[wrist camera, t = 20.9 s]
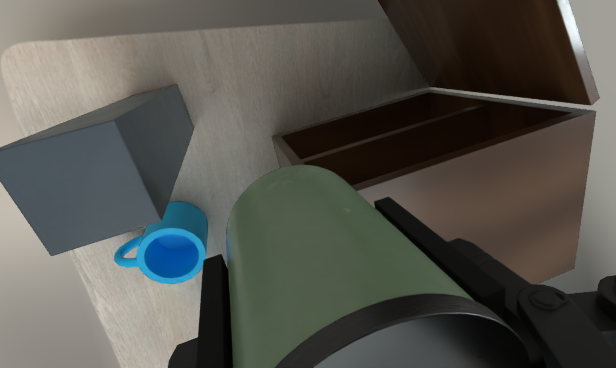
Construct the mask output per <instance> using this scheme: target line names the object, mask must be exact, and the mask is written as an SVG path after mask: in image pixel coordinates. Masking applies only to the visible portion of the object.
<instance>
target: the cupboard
mask: <svg viewBox="0 0 616 368" xmlns="http://www.w3.org/2000/svg"><path fill="white" fill-rule="evenodd" d="M595 117H596V111H593V110H586V109H577V108H569V107H561V106H554V105H546V104H537V103H531V102H523V101H515V100H507V99H499V98H492V97H484V96H476V95H468V94H461V93H453V92H445V91H437V90H429V91H425V92H422V93H419V94H415V95H412V96H408V97H405V98H402V99H398V100H395V101H391V102H388V103H385V104H381V105H378V106H374V107H371V108H368V109H364V110H361V111H357V112H354V113H350V114H347V115H344V116H340V117H337V118H333V119H330V120H327V121H323V122H320V123H316V124H313V125H310V126H306V127H303V128H299V129H296V130H293V131H289V132H286V133H282V134H279V135H276V136H272V141H273V144H274V148H275V151H276V155H277V158H278V162H279V165H280V168H284V167H288V166H295V165H311V166H317V167H321V168H324V169H327V170H329V171H332V172H334V173H335V174H337V175H339V176H340V177H341V178H343V179H344V180H345V181H346V182H347V183H348V184H349V185H350V186H352V187H353V188H354V189H355V190H356V191H357V192H358V193H359V194H360V195H361V196H362V197H363V198H365V199H366V200H367V201H368V202H369V203H370V204H371V205H372V206H373V207H374V208H375V206H374V201H377V200H380V199H383V198H386V197H390V198H392V199H393V200H394V201H396V202H397V203H398V204H399V205H401V206H402V207H403V208H404V209H406V210H407V211H408V212H410V213H411V214H412V215H413V216H415V217H416V218H417V219H419V220H420V221H421V222H422V223H424V224H425V225H426V226H427V227H429V228H430V229H431V230H433V231H434V232H435V233H436V234H438V235H439V236H440V237H442V238H443V239H444V240H445V241H447V242H449V241H451V240H454V239H457V238H461V239H463V240H466V241H469V242H472V243H474V244H475V245H477V246H478V247H479V248H481V249H482V250H484V252H485V253H486V252H487V253H488V254H489V255H491V256H492V257H493V258H494V259H496V260H498V261H499V262H501V263H502V264H504V265H505V266H506V267H508V268H509V269H511V270H512V271H513V272H515V273H516V274H518V275H519V276H521V277H522V278H523V279H525V280H526V281H528V282H529V283H530V284H535V285H537V284H539V283H541V282H544V281H546V280H548V279H551V278H553V277H555V276H558V275H560V274H563V273H565V272H567V271H570V270H572V269H574V267H575V260H576V252H577V246H578V238H579V231H580V224H581V217H582V210H583V203H584V196H585V189H586V182H587V174H588V167H589V160H590V152H591V145H592V139H593V131H594V124H595Z"/></svg>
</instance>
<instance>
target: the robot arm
mask: <svg viewBox="0 0 616 368" xmlns="http://www.w3.org/2000/svg"><path fill="white" fill-rule="evenodd" d="M374 206H375V209H376V210H378V211H379V212H380V213H381V214H382V215H383V216H384V217H385V218H386V219H387V220H388V221H389V222H390V223H392V224H393V225H394V226H395V227H396V228H397V229H398V230H399V231H400V232H401V233H402V234H403V235H405V236H406V237H407V238H408V239H409V240H410V241H411V242H412V243H413V244H414V245H415V246H416V247H418V248H419V249H420V250H421V251H422V252H423V253H424V254H425V255H426V256H427V257H428V258H429V259H431V260H432V261H433V262H434V263H435V264H436V265H437V266H438V267H439V268H440V269H441V270H442V271H443V272H445V273H446V274H447V275H448V276H449V277H450V278H451V279H452V280H453V281H454V282H455V283H456V284H458V285H459V286H460V287H461V288H462V289H463V290H464V291H465V292H466V293H467V294H468V295H469V296H471V297H472V298H473V299H474V300H475V301H476V302H479V303H480V304H482V305H484V306H486V307H487V308H489V309H490V310H492V311H493V312H494V313H495V314H496V315H497V316H499V317H500V318H501V319H502V320H503V321H504V322H505V323H506V324H507V325H508V326H510V327H511V328H512V329H513V330H514V331H515V332H516V333H517V334H518V336H519V337H520V338H521V340H522V341H523V342H524V344H525V347H526V349H527V351H528V354H529V357H530V363H531V368H616V275H615V276H607V277H605V278H603V279H601V280H600V282H599V284H598V289H597V291H594V292H584V293H574V294H565V293H564V292H562V291H560V290H558V289H556V288H554V287H550V286H546V285H535V284H530V283H529V282H528V281H526V280H525V279H523V278H522V277H521V276H519V275H518V274H516V273H515V272H513V271H512V270H511V269H509V268H508V267H506V266H505V265H504V264H502V263H501V262H499V261H498V260H496V259H494V258H493V257H492V256H491V255H489V254H488V253H487V252H486V253H485V252H484V250H482V249H481V248H479V247H478V246H477V245H475V244H474V243H472V242H469V241H466V240H463V239H461V238H457V239H454V240H451V241H449V242H447V241H445V240H444V239H443V238H442V237H440V236H439V235H438V234H436V233H435V232H434V231H433V230H431V229H430V228H429V227H427V226H426V225H425V224H424V223H422V222H421V221H420V220H419V219H417V218H416V217H415V216H413V215H412V214H411V213H410V212H408V211H407V210H406V209H404V208H403V207H402V206H401V205H399V204H398V203H397V202H396V201H394V200H393V199H392V198H390V197H386V198H383V199H380V200H377V201H374ZM168 368H233V363H232V343H231V323H230V303H229V284H228V269H227V266H226V264H225V261H224V259H223V257H222V254H219V255H217V256H214V257H211V258H208V259H205V260H203V275H202V289H201V303H200V318H199V332H198V337H197V338H195V339H192V340H190V341H187V342H184V343H182V344H179V345H177V347H176V349H175V350H174V352H173V354H172V356H171V358H170V360H169V363H168Z"/></svg>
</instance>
